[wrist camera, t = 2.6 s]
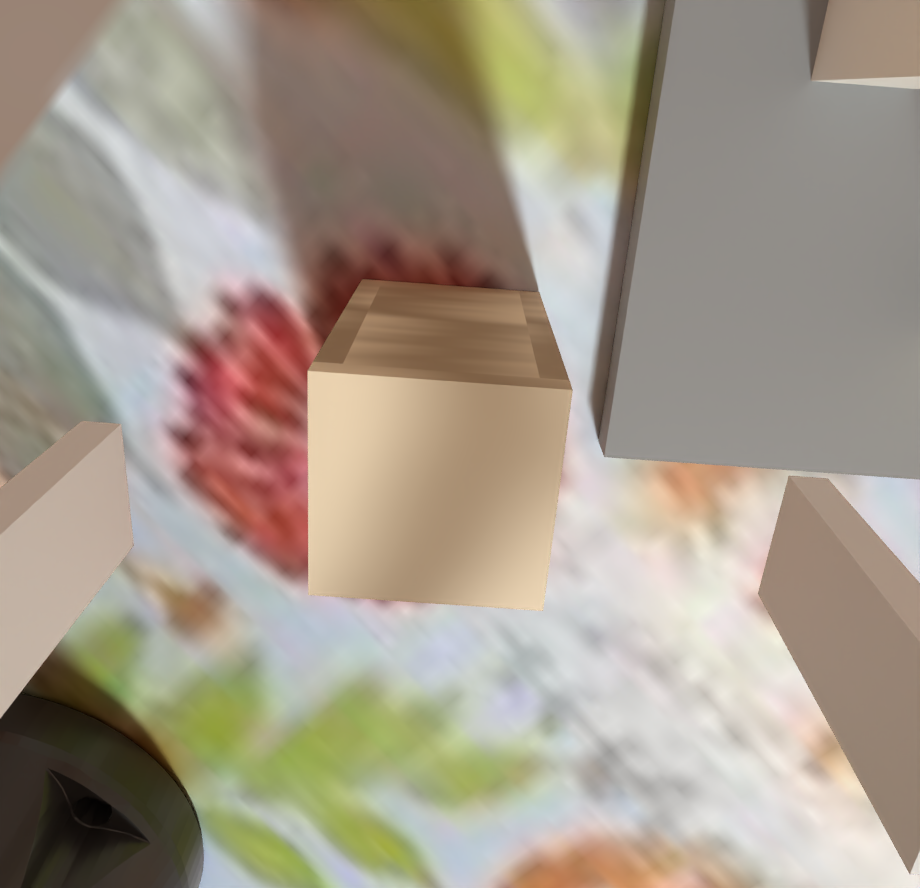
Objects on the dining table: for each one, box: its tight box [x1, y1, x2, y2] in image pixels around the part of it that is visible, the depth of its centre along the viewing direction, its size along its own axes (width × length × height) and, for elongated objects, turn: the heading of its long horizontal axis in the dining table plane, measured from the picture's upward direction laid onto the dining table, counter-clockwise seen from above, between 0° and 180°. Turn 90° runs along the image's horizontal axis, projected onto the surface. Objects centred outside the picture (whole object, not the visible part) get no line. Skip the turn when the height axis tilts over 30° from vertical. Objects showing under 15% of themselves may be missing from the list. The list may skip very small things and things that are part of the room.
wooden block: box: [308, 279, 573, 611], centre depth 21 cm, size 5×5×9 cm
